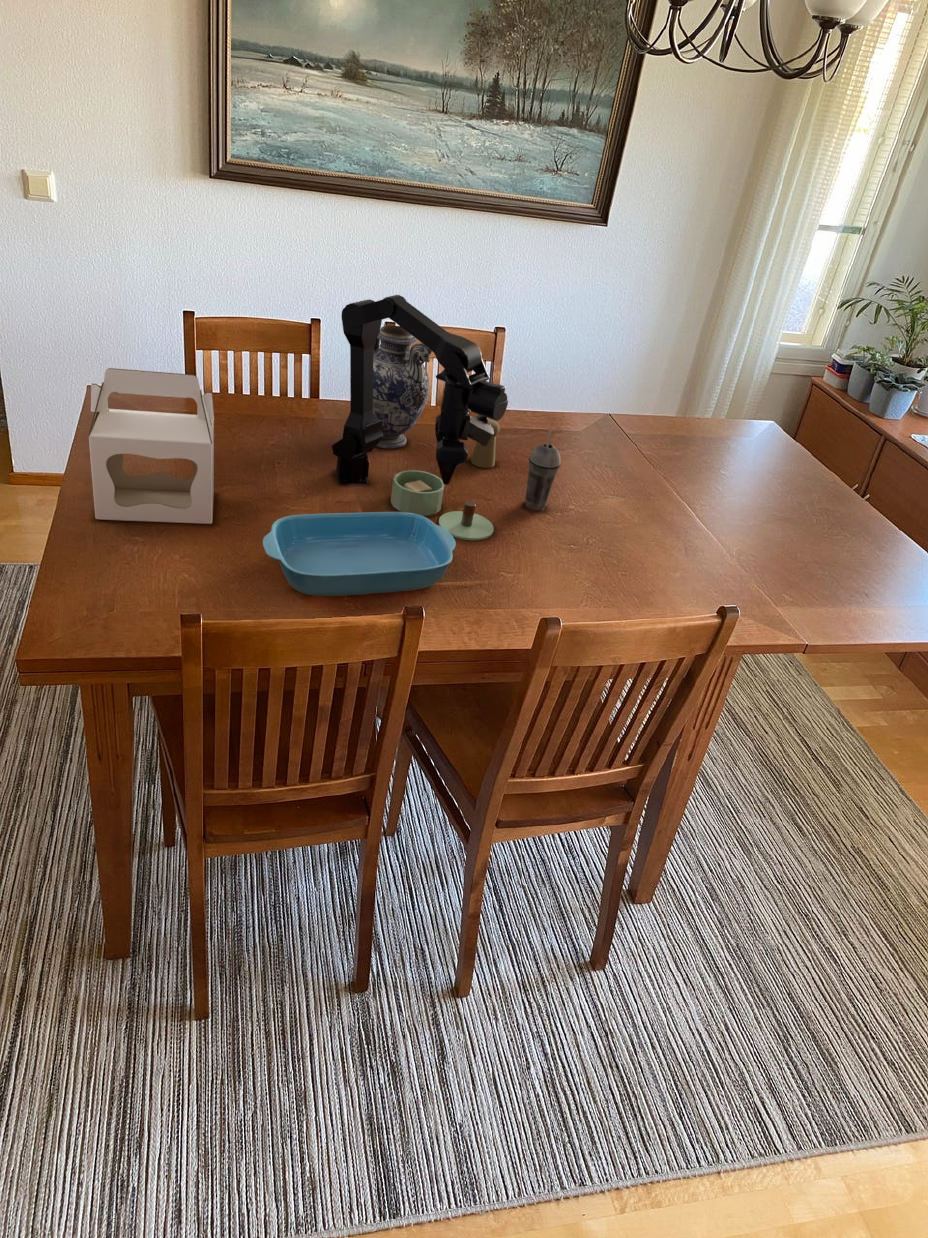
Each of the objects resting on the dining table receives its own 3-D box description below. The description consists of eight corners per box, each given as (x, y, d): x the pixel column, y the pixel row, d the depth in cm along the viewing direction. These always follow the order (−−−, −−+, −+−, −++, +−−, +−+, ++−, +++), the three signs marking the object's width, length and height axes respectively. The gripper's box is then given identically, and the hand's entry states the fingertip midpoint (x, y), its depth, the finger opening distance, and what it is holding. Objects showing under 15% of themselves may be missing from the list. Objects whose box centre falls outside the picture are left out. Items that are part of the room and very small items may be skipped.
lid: (448, 544, 186) (452, 517, 183) (431, 516, 195) (434, 490, 192) (500, 542, 191) (506, 516, 187) (481, 515, 200) (486, 490, 196)
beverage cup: (554, 506, 209) (573, 426, 198) (543, 518, 203) (562, 436, 192) (525, 497, 211) (543, 417, 200) (514, 507, 205) (531, 426, 194)
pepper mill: (485, 469, 220) (492, 428, 214) (465, 460, 223) (473, 419, 217) (499, 463, 225) (507, 422, 218) (480, 455, 227) (487, 414, 221)
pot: (398, 518, 192) (401, 493, 189) (384, 494, 200) (387, 470, 197) (447, 517, 196) (451, 492, 193) (431, 493, 205) (435, 469, 201)
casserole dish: (273, 610, 157) (275, 575, 153) (252, 545, 173) (253, 513, 169) (467, 597, 170) (473, 565, 166) (430, 539, 187) (435, 508, 183)
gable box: (214, 494, 188) (215, 364, 173) (213, 524, 178) (213, 389, 162) (102, 488, 183) (92, 354, 167) (93, 519, 172) (82, 379, 157)
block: (413, 509, 195) (416, 491, 193) (402, 501, 198) (404, 483, 196) (429, 506, 198) (432, 488, 196) (417, 497, 201) (420, 480, 198)
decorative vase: (328, 434, 223) (336, 322, 208) (375, 418, 237) (387, 311, 221) (394, 464, 214) (408, 349, 199) (439, 446, 228) (456, 337, 213)
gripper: (497, 427, 175) (485, 498, 183) (491, 394, 190) (480, 461, 199) (441, 420, 174) (431, 492, 182) (440, 387, 189) (430, 455, 198)
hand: (445, 474), depth 190 cm, fingers open, 9 cm apart
